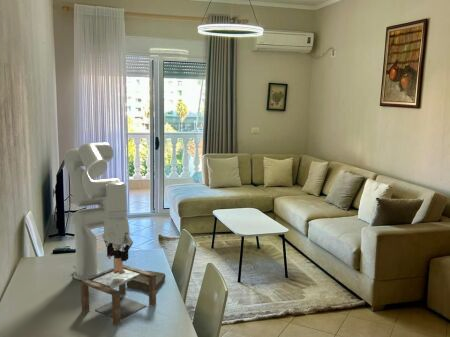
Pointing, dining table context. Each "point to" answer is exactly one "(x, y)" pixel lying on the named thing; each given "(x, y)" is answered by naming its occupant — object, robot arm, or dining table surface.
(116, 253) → the grandmother figurine
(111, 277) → the trapdoor plate
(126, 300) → the frame
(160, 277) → the marble piece
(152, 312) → the dining table surface
